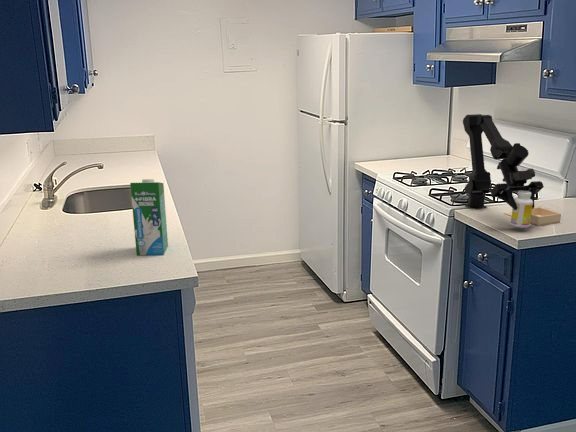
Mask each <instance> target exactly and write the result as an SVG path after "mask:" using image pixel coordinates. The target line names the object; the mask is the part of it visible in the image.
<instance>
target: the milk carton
mask: <svg viewBox="0 0 576 432" xmlns="http://www.w3.org/2000/svg"><path fill="white" fill-rule="evenodd" d="M129 185H130V194H131V196H130V197H131V209H132V218H133V229H134V239H135V250H136V256H164V255H165V253H166V251H167V249H168V247H169V242H168V241H169V240H168V239H169V238H168V228H167V214H166V199H165V186H164V182H158V181H157V182H155V179H153V178H145V179H142V180H141V182H131V183H130V184H129Z"/></svg>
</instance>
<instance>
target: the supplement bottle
mask: <svg viewBox="0 0 576 432" xmlns="http://www.w3.org/2000/svg"><path fill="white" fill-rule="evenodd" d="M530 197H531V192H529V191H517V197H515V198H514V200H515V203H516V206H517V210H514V209H513V208H512V209H511V212H512V216H510V224H511V226H512V227H515V228H522V229H523V228H524V229H525V228H528V227H530V224H531V223H530V220H531V213H532V206H533V201H532V200H531V199H530Z"/></svg>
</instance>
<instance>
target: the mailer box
mask: <svg viewBox="0 0 576 432" xmlns="http://www.w3.org/2000/svg"><path fill="white" fill-rule="evenodd" d="M503 214H504V215H505V216H510V217H511V216H512V211H510V212H508V211H507V212H504V213H503ZM561 218H562V213H560V212H556V211H553V210H550V209H548V208H544V207H542V206H541V207H540V206H534V208H533V209H532V213H531V220H530V224H531V225H534V226H537V227H539V226H548V225H553V224H558V223H561Z"/></svg>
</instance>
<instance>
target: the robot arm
mask: <svg viewBox="0 0 576 432" xmlns="http://www.w3.org/2000/svg"><path fill="white" fill-rule="evenodd" d="M462 124H463V129H464V132H465V134H467V135H468V138H469V139H468V140H469V148H470V158H471V169H472V170H471V172H470V174H469V177H468V182H467V183H466V185H465V186H464V193H466V194H468V197H467V198H468V199H467V204H464V206H465V207H467V208H470V209H472V210H478V209H485V208H487V206H486V205H485V201H486V200H485V194H489V193H490V195H491V197H492V198H498V199H499V200H502V201H504V203H507V204H508V205H509V206H510V207H511V208H512V209H514V210H517V206H516V203H515V200H514V199H515V198H514V195H513V193H514V192H518V191H529V192H531V197H530V199H531V200H532V201H533V206H532V209H533V208H535V196H536V195H537V194H538V193H540V191H542V189H543V188H544V183H543V182H542V181H541V180H537V181H536V180H535V181H534V180H533V181H531V182H530V183H528V184H527V182H528V180H532V179H533V178H535V177H536V171H535V170H534V168H528V169H526V170H519V168H518V167H519V166H520V165H521V164H522V163H523V162H524V161H525V160H526V158H527V157H528V156H529V149H527V148H526V147H525V146H523V145H521V142H520V143H519V142H518V143H517V142H516V143H514V144H513V145H512V144H511V143H510V141H509V140H507V139H505V138H503V137H502V134H501V132H500V131H499V129H498V128H497V126H496V125H495V122H494V121H493V117H492V115H490V114H480V113H479V114H477V113H475V114H466V115H465V116H464V117H463V120H462ZM483 133H484V135H485V138H486V139H487V140H488V142H489V144H490V149H489V151H490V153H491V157H492V158H493V159H494V160H501V161H500V162H498V165H497V167H496V169H497V170H500V172H501V174H502V176H503V177H502V183H496V184H495V185H494V187H493V188H492V189H491V187H492V180H491V179H492V178H491V172H490V171H487V170H486V169H485V157H484V149H483V147H484V146H483V139H482V138H483V137H482V136H483V135H482V134H483ZM526 184H527V185H526Z"/></svg>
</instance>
